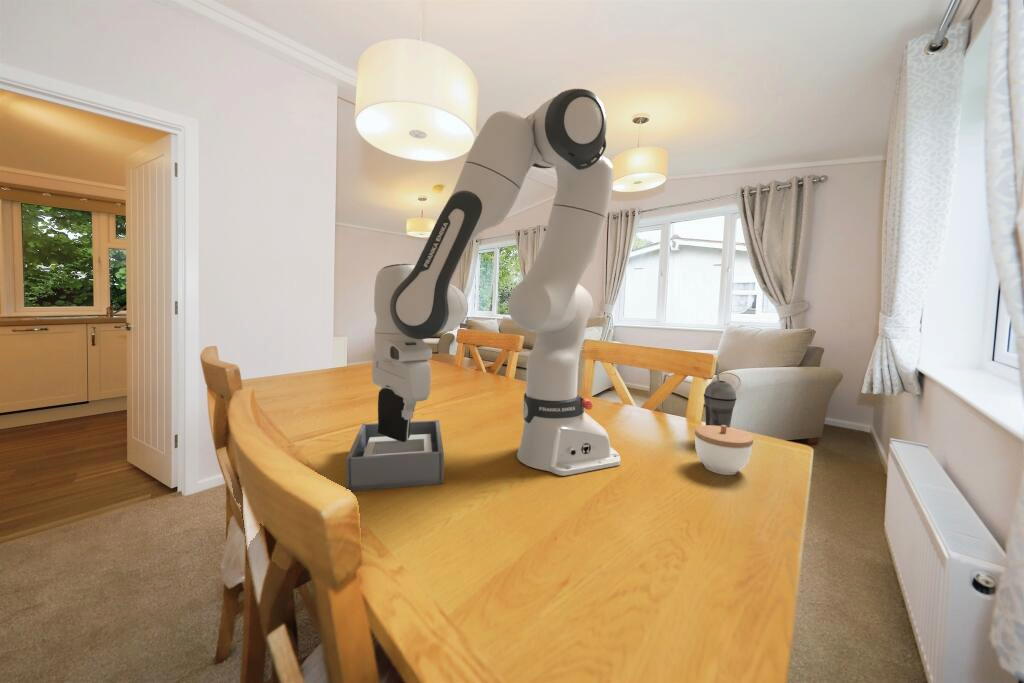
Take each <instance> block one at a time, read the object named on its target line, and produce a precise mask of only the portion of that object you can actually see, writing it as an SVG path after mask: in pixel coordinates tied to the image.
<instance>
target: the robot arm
mask: <svg viewBox="0 0 1024 683" xmlns="http://www.w3.org/2000/svg"><path fill="white" fill-rule="evenodd" d="M606 133H607V116H606V110H605V108H604V104H603V102H602V101H601V99H600V98H599V97H598V95H597V94H595V92H593V91H590V90H589V89H585V88H572V89H566V90H563V91H561V92H560V93H558V94H557V95H556V96H553V97H552V98H550V99H548V100H546V101H545V102H543V103H542V104H541V105H540V106H539V107H538V108H536V109H535V111H534V112H533V113H531V114H529V115H527V117H522V116H521V115H519V114H517V113H516V112H512V111H507V110H502V111H496V112H493V113H492V114H491V115H490V116H489V117H488V118H487V120H486V122H484V125H483V126H482V127H481V129H480V130H479V133H478V135H477V136H476V138H475V140H474V142H473V144H472V146H471V148H470V149H469V152H468V154H467V156H466V159H465V162H464V164H463V166H462V168H461V171H460V174H459V177H458V179H457V181H456V184H455V187H454V189H453V190H452V193H451V195H450V197H449V199H448V200H447V202H446V204H445V205H444V207H443V209H442V211H441V213H440V215H439V216H438V218H437V221H436V222H435V224H434V226H433V228H432V230H431V232H430V234H429V237H428V239H427V240H426V243H425V245H424V247H423V250H422V251H421V253H420V255H419V257H418V260H417V262H416V264H411V263H401V264H400V263H397V264H390V265H387V266H384V267H382V268H381V269H380V270H379V271H378V272H377V274H376V276H375V277H376V278H375V284H374V294H373V295H374V296H373V298H374V300H373V307H374V308H373V309H374V313H375V314H374V315H375V317H376V318H375V319H376V324H375V326H374V353H373V356H372V365H371V366H372V368H371V379H372V382H373V384H374V385H375V386H378V387H380V388H381V389H382V388H383V387H385V386H387V385H388V386H389V387H390V388H391V389H392V390H393V392H394V393H395V394H396V395H398V396H400V397H402V398H403V402H404V403H405V404H404V409H403V410H402V418H404V419H405V420H409V419H411V420H412V419H413V418H414V412H413V410H414V411H415V407H416V406H417V403H418V402H423V401H426V400H427V399H428V398H430V397H429V396H430V394H431V377H432V376H431V374H432V371H431V363H430V360H432V358H433V351H432V350H433V349H432V348H431V347H430V346H429V345H428V344H427V343H426V342H425V341H424V340H425V339H429V338H431V337H434V336H435V335H437V334H442V333H445V332H448V331H451V330H453V329H456V328H457V327H459V326H460V325H461V324H463V322H465V320H466V317H467V315H468V311H469V303H468V302H469V301H468V299H467V296H466V295H465V293H464V291H462V290H461V289H460V288H459V287H457V286H455V285H454V284H451V283H452V281H453V279H454V277H455V274H456V272H457V270H458V269H459V266H460V264H461V261H462V259H463V258H464V255H465V254H466V251H467V249H468V248H469V246H470V244H471V242H472V241H473V240H474V239H475V238H476V237H477V236H478V235H480V234H481V233H483V232H485V231H486V230H489V229H491V228H494V227H496V226H499V225H500V224H502V223H503V222H504V221H505V220H506V218H507V216H508V215H509V214H510V213H511V212H510V211H511V210H512V208H513V207H514V204H515V203H516V200H517V198H518V196H519V193H520V191H521V189H522V186H523V184H524V182H525V179H526V176H527V175H528V173H529V171H530V169H531V168H533V167H534V168H537V169H551V168H555V172H556V177H557V181H556V182H557V183H556V185H557V186H556V192H555V196H554V198H553V202H552V207H551V210H550V214H549V218H548V221H547V226H546V230H545V233H544V237H543V240H542V243H541V246H540V249H539V251H538V253H537V255H536V257H535V259H534V260H533V262H532V264H531V266H530V268H529V270H528V271H527V273H526V275H525V277H524V278H523V279H522V281H520V282H519V283H517V285H515V287H514V288H513V289H512V290H511V292H510V295H509V297H508V303H507V306H508V312H509V315H510V318H511V320H512V321H513V322H514V324H515V325H517V326H518V327H519V328H521V329H523V330H526V331H529V332H532V333H533V332H534V333H536V338H535V342H534V344H533V346H532V349H531V351H530V352H529V354H528V356H527V359H526V375H525V376H526V380H525V384H526V385H525V393H524V395H523V401H522V417H523V428H522V435H521V438H520V439H521V441H520V444H519V447H518V450H517V453H516V457H517V460H518V461H520V463H522V464H523V465H525V466H528V467H529V468H530V467H531V468H534V469H537V470H541V471H547V472H550V473H552V474H554V475H555V474H556V475H558V476H563V477H564V476H565V477H566V476H571V475H575V474H581V473H585V472H590V471H596V470H602V469H607V468H611V467H616V466H620V465H621V461H622V460H621V456H620V454H619V453H618V452H617V451H616V450H615V449H614V448H613V447H612V446H611V442H610V437H609V434H608V432H607V430H606V429H605V428H604V427H603V426H602V425H600V423H598V422H597V421H596V420H595V419H593V418H592V417H591V416H590V415H589V414H587V413H586V412H585V410H587V411H589V410H590V411H591V410H592V408H594V402H593V401H592V400H590V399H588V398H584V397H582V396H580V395H579V394H578V381H579V380H578V379H579V378H578V377H579V362H580V355H581V350H582V347H583V342H584V337H585V333H586V329H587V324H588V322H589V319H590V317H591V316H592V313H593V310H594V300H593V298H592V295H591V293H590V292H589V291H588V289H586V288H585V287H584V286H583V285H581V284H579V283H580V281H581V279H582V277H583V275H584V274H585V271H586V270H587V268H588V267H589V266H590V264H591V263H592V262H593V260H594V259H595V257H596V255H597V252H598V248H599V244H600V241H601V238H602V234H603V230H604V227H605V224H606V222H607V221H606V220H607V217H608V212H609V209H610V205H611V200H612V194H613V188H614V178H615V169H614V166H613V164H612V162H611V161H610V160H609V159H608V158H607V157H606V156H604V155H603V154H604V153H605V151H606V149H607V140H606V135H607V134H606Z"/></svg>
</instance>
